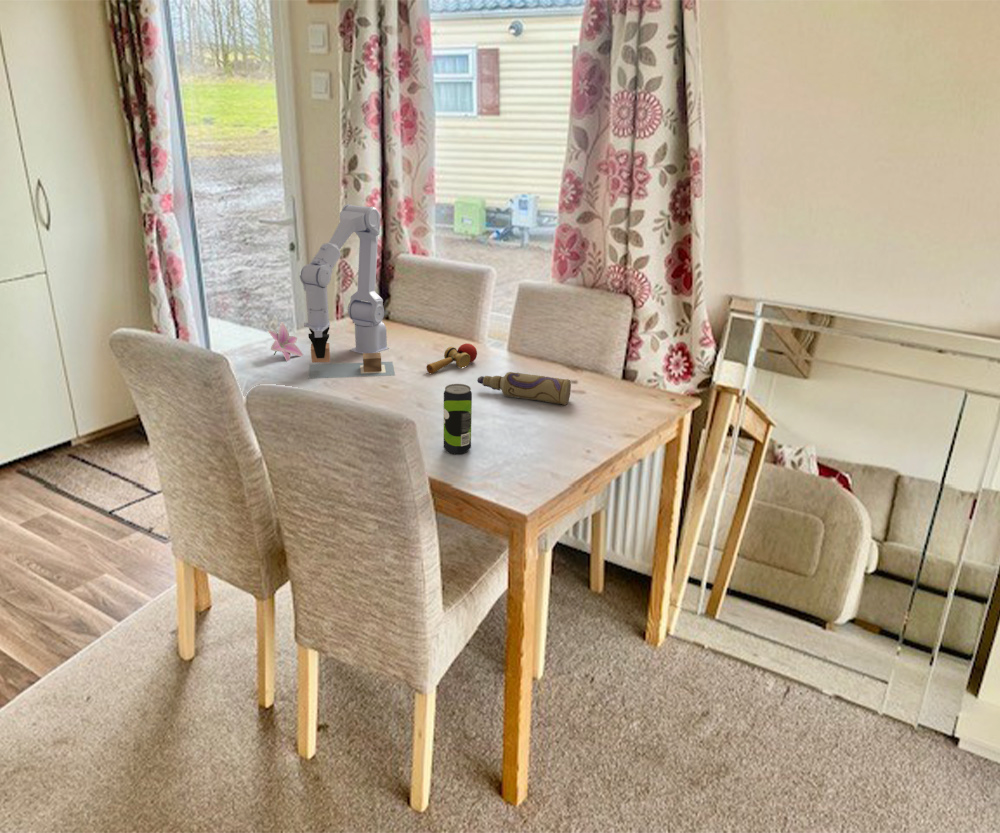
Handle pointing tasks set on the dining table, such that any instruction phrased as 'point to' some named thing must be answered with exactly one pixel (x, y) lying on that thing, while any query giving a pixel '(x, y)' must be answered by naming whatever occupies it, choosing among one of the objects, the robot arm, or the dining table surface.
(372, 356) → the walnut block
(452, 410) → the beverage can
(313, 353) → the terracotta block
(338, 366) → the board
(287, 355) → the lily
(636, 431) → the dining table surface
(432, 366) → the kendama
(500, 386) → the decorative bottle
